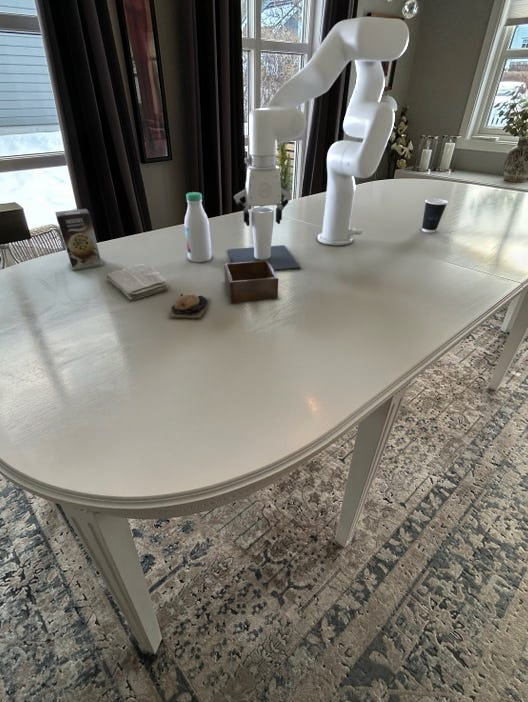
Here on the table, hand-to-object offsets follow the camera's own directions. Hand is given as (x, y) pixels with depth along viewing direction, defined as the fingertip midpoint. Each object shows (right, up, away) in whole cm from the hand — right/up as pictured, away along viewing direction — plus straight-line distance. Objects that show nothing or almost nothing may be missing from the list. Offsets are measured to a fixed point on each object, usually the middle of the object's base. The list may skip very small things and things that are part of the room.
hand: (262, 223), depth 114 cm
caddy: (-4, -23, -12) cm, 26 cm away
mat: (0, -9, +7) cm, 11 cm away
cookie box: (-56, -12, +4) cm, 58 cm away
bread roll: (-19, -29, -20) cm, 40 cm away
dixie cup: (+66, +8, +30) cm, 73 cm away
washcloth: (-36, -21, -8) cm, 42 cm away
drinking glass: (0, -9, +7) cm, 11 cm away
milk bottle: (-21, -9, +8) cm, 24 cm away
